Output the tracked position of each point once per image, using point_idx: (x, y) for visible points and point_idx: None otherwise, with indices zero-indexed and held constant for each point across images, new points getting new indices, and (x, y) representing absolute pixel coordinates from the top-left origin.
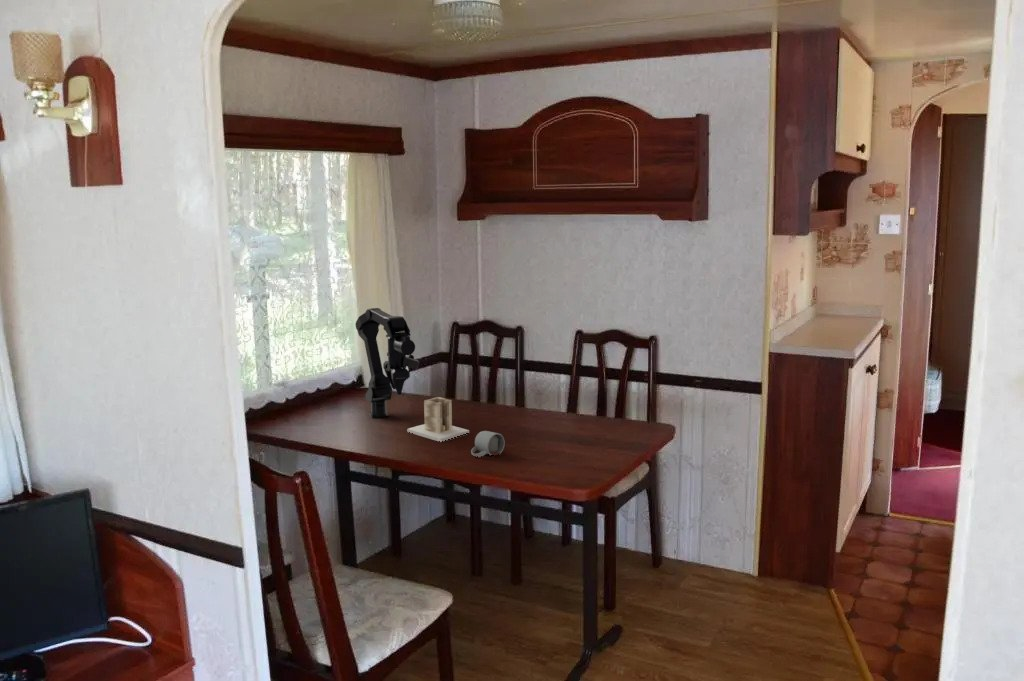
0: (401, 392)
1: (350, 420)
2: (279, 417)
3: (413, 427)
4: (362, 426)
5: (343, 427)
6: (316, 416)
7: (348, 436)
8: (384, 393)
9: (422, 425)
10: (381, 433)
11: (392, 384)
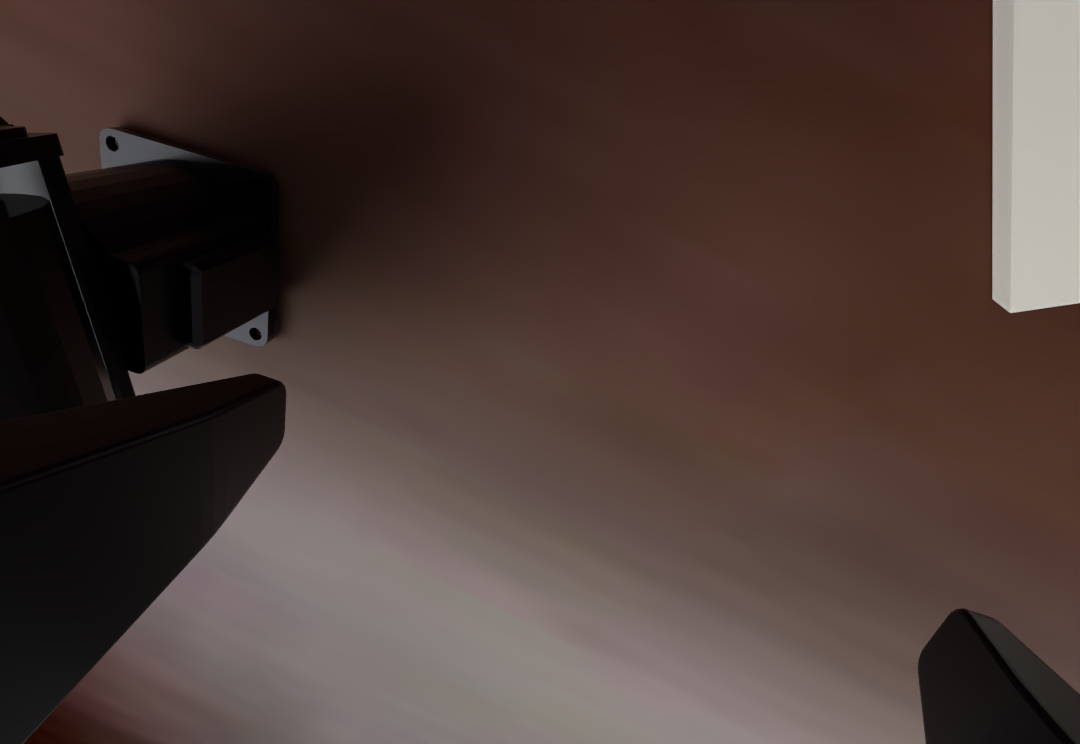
0: (1059, 676)
1: (270, 507)
2: (73, 739)
3: (1030, 211)
4: (484, 527)
5: (436, 632)
6: None
7: (688, 725)
8: (63, 334)
9: (1058, 31)
10: (807, 524)
11: (190, 533)
